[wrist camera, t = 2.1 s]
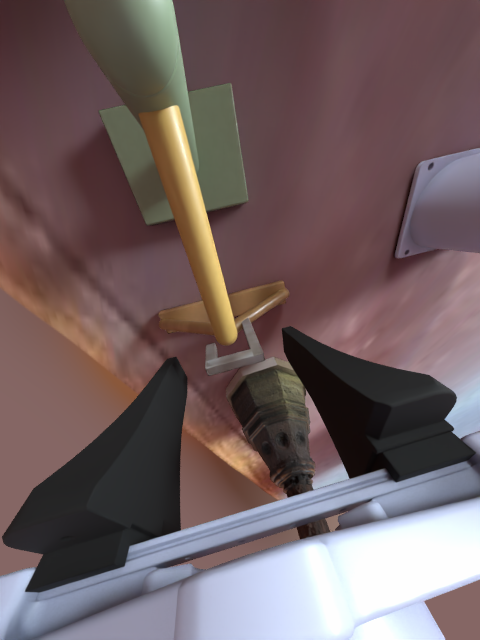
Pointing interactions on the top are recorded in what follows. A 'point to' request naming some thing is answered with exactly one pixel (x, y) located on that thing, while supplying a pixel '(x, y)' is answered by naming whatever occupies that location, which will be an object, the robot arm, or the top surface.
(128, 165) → the stand
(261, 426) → the bird statue
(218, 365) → the hanger
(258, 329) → the top surface
